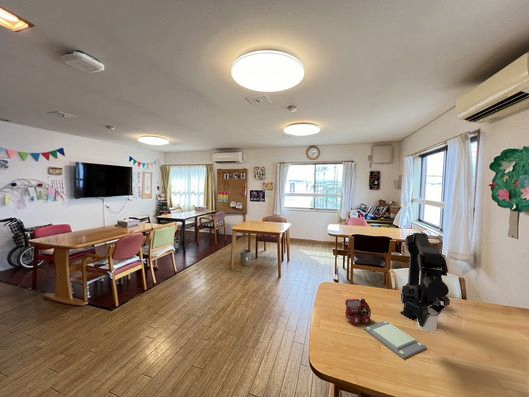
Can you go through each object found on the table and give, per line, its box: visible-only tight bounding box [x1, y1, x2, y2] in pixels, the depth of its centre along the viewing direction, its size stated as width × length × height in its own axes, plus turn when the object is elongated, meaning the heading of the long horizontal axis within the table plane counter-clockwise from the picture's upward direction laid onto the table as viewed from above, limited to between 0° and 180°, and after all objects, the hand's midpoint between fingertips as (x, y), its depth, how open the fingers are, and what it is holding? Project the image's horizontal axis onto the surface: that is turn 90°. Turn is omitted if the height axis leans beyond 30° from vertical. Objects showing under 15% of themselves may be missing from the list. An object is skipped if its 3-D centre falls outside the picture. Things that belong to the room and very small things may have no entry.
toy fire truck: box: [344, 298, 372, 326], centre depth 104 cm, size 7×12×10 cm, turn 96°
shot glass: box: [416, 307, 440, 334], centre depth 84 cm, size 7×7×7 cm
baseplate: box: [363, 320, 427, 360], centre depth 92 cm, size 14×18×2 cm
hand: (426, 324), depth 84 cm, fingers closed on shot glass, 6 cm apart
